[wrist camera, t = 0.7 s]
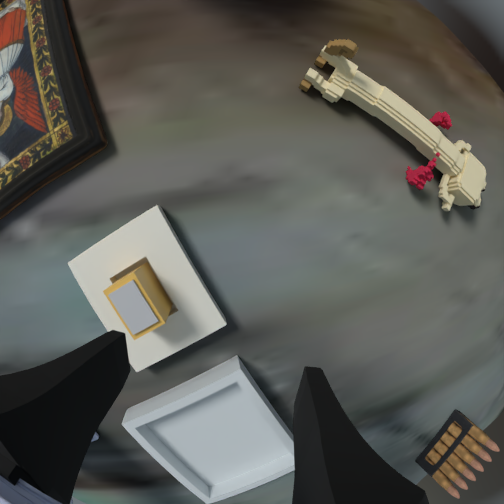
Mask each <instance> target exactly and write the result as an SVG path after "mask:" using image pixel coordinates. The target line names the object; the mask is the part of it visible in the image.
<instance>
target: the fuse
mask: <svg viewBox="0 0 504 504" xmlns="http://www.w3.org/2000/svg"><path fill="white" fill-rule="evenodd" d="M103 292H104V294H105V296H106V297H107V299H108V301H109V302H110V304H111V305H112V307H113V309H114V310H115V312H116V313H117V315H118V317H119V318H120V320H121V321H122V323H123V324H124V326H125V327H126V329H127V330H128V332H129V333H130V335H131V336H132V338H133V339H134V340H136V339H138V338H139V337H141V336H143V335H145V334H147V333H149V332H150V331H152V330H154V329H156V328H158V327H160V326H161V325H163V324H165V323H166V320H167V318H168V315H169V312H170V310H171V307H172V305H173V303H172V302H171V300H170V298H169V297H168V295H167V294H166V292H165V290H164V289H163V287H162V285H161V284H160V282H159V280H158V279H157V277H156V275H155V274H154V272H153V270H152V269H151V267H150V265H149V263H148V262H146V263H144V264H143V265H141V266H139V267H138V268H136V269H134V270H133V271H131V272H130V273H128V274H126V275H125V276H123V277H121V278H120V279H119V280H117V281H116V282H114V283H113V284H112V285H110V286H109V287H108V288H106V289H105V290H104V291H103Z"/></svg>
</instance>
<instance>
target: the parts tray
mask: <svg viewBox="0 0 504 504" xmlns="http://www.w3.org/2000/svg"><path fill="white" fill-rule="evenodd" d="M122 425H123V427H124V428H125V429H126V430H127V431H128V432H129V433H130V434H131V435H132V436H133V437H134V438H135V439H136V441H137V442H138V443H139V444H140V445H141V446H142V447H143V448H144V449H145V450H146V451H147V452H148V453H149V454H150V455H151V456H152V457H153V458H154V459H155V460H156V461H158V462H159V463H160V464H161V465H162V466H163V467H164V468H165V469H166V470H167V471H168V472H169V473H170V474H172V475H173V476H174V477H175V478H176V479H177V480H178V481H179V482H181V483H182V484H183V485H184V486H185V487H186V488H188V489H189V490H190V491H191V492H192V493H194V494H195V495H196V496H197V497H199V498H200V499H201V500H202V501H204V502H205V503H206V504H210V503H213V502H216V501H219V500H222V499H225V498H228V497H231V496H234V495H236V494H239V493H242V492H244V491H247V490H250V489H252V488H255V487H257V486H260V485H262V484H264V483H267V482H269V481H271V480H274V479H276V478H278V477H280V476H283V475H285V474H287V473H289V472H291V471H293V470H295V466H294V440H293V434H292V433H291V431H290V430H289V429H288V427H287V426H286V424H285V423H284V422H283V420H282V419H281V418H280V416H279V415H278V413H277V412H276V411H275V409H274V408H273V406H272V405H271V404H270V402H269V401H268V399H267V398H266V397H265V395H264V394H263V392H262V391H261V389H260V388H259V386H258V385H257V384H256V382H255V381H254V379H253V378H252V376H251V375H250V373H249V372H248V370H247V369H246V367H245V366H244V364H243V363H242V361H241V360H240V358H239V357H238V355H236V356H235V357H233V358H231V359H229V360H227V361H225V362H223V363H221V364H219V365H218V366H216V367H214V368H212V369H210V370H208V371H206V372H204V373H202V374H200V375H198V376H196V377H194V378H192V379H190V380H188V381H186V382H184V383H182V384H180V385H178V386H176V387H174V388H172V389H169V390H167V391H165V392H163V393H161V394H159V395H157V396H155V397H152V398H150V399H148V400H146V401H144V402H141V403H139V404H137V405H135V406H132V407H130V408H128V409H127V411H126V413H125V416H124V419H123V422H122Z"/></svg>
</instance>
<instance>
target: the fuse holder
mask: <svg viewBox="0 0 504 504" xmlns="http://www.w3.org/2000/svg"><path fill="white" fill-rule="evenodd" d="M146 262H148V263H149V265H150V267H151V269H152V270H153V272H154V274H155V275H156V277H157V279H158V280H159V282H160V284H161V285H162V287H163V289H164V290H165V292H166V294H167V295H168V297H169V298H170V300H171V302H172V303H173V305H172V307H171V310H170V312H169V315H168V318H167V320H166V323H165V324H163V325H161V326H160V327H158V328H156V329H154V330H152V331H150V332H149V333H147V334H145V335H143V336H141V337H139V338H138V339H136V340H134V339H133V338H132V336H131V335H130V333H129V332H128V330H127V329H126V327H125V326H124V324H123V323H122V321H121V320H120V318H119V317H118V315H117V313H116V312H115V310H114V309H113V307H112V305H111V304H110V302H109V301H108V299H107V297H106V296H105V294H104V292H103V291H104V290H105V289H106V288H108V287H109V286H110V285H112V284H113V283H114V282H116V281H117V280H119V279H120V278H121V277H123V276H125V275H126V274H128V273H130V272H131V271H133V270H134V269H136V268H138V267H139V266H141V265H143V264H144V263H146ZM68 265H69V267H70V269H71V271H72V273H73V274H74V276H75V278H76V280H77V282H78V283H79V285H80V287H81V289H82V290H83V292H84V294H85V295H86V297H87V299H88V301H89V302H90V304H91V305H92V307H93V309H94V310H95V312H96V314H97V315H98V317H99V318H100V320H101V321H102V323H103V325H104V326H105V328H106V329H107V331H108V332H109V331H111V330H115V331H119V332H123V333H125V335H126V343H127V350H128V357H129V362H130V364H131V365H132V367H133V368H134V369H135V371H136V372H138V371H140V370H142V369H144V368H146V367H148V366H150V365H152V364H154V363H156V362H158V361H160V360H162V359H164V358H166V357H168V356H170V355H172V354H174V353H175V352H177V351H179V350H181V349H183V348H185V347H187V346H189V345H191V344H192V343H194V342H196V341H198V340H200V339H202V338H204V337H206V336H207V335H209V334H211V333H213V332H215V331H217V330H218V329H220V328H222V327H224V326H226V325H227V323H226V318H225V316H224V314H223V313H222V311H221V310H220V308H219V306H218V305H217V303H216V301H215V300H214V298H213V296H212V295H211V293H210V291H209V290H208V288H207V286H206V285H205V283H204V281H203V280H202V278H201V276H200V275H199V273H198V271H197V270H196V268H195V266H194V264H193V263H192V261H191V259H190V258H189V256H188V254H187V252H186V251H185V249H184V247H183V245H182V244H181V242H180V240H179V238H178V237H177V235H176V233H175V231H174V230H173V228H172V226H171V224H170V222H169V221H168V219H167V217H166V215H165V213H164V212H163V210H162V208H161V206H158V205H156V206H155V207H153V208H151V209H150V210H148V211H147V212H145V213H143V214H142V215H140V216H138V217H137V218H135V219H134V220H132V221H130V222H129V223H127V224H126V225H124V226H122V227H121V228H119V229H118V230H116V231H115V232H113V233H111V234H110V235H108V236H107V237H105V238H104V239H102V240H101V241H99V242H98V243H96V244H95V245H93V246H92V247H90V248H89V249H87V250H86V251H84V252H83V253H81V254H80V255H79V256H77V257H76V258H74V259H73V260H71V261H70V262H69V263H68Z"/></svg>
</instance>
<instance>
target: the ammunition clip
mask: <svg viewBox="0 0 504 504" xmlns="http://www.w3.org/2000/svg"><path fill="white" fill-rule="evenodd" d="M458 425H459V426H460V427H461V428H462V429H461V428H460V427H459V426H458ZM451 434H452V435H453V436H454V437H455V438H456V439H455V438H454V437H453V436H452V435H451ZM471 436H472V437H473V438H475V439H476V440H477V441H478V442H480V443H482V444H484V445H485V446H487V447H488V448H490V449H491V450H493V451H497V452H499V451H500V450H499V448H498V446H497V445H496V443H495V442H494V441H492V440H491V439H490V438H489V437H488V436H487V434H486V433H485V432H484V431H482V430H481V429H480V428H478V427H477V426H476V425H475V424H474V423H473V422H471V421H470V420H469V419H468V418H467V417H466V416H465V415H464V414H462V413H461V412H460V411H458V410H454V411H453V413H452V414H451V416H450V417H449V418H448V420H447V421H446V422H445V424H444V425H443V427H442V428H441V429H440V430H439V432H438V433H437V434H436V436H435V437H434V438H433V439H432V441H431V442H430V443H429V444H428V446H427V447H426V448H425V449H424V450H423V452H422V453H421V454H420V455H419V456H418V458H417V459H416V462H417V463H418V464H419V465H420V466H421V467H422V468H423V469H424V470H425V471H426V472H427V473H428V474H429V475H430V476H431V477H433V478H434V479H435V480H436V481H437V483H438V484H439V485H440V486H441V487H443V488H444V489H445V490H446V491H448V492H449V493H450V494H451V495H452V496H454V497H456V498H460V496H459V493H458V491H457V490H456V488H455V487H454V486H453V484H452V483H451V482H450V480H449V479H451V480H452V481H454V482H455V483H456V484H457V485H458V486H459V487H461V488H463V489H465V490H467V489H468V487H467V484H466V483H465V481H464V480H463V479H462V478H461V476H460V475H459V474H458V472H457V471H456V470H458V471H460V472H461V473H462V474H463V475H465V476H466V477H467V478H468V479H471V480H473V481H476V478H475V476H474V474H473V473H472V471H471V470H470V469H469V468H468V467H467V466H466V465H465V463H464V462H463V461H465V462H467V463H468V464H470V465H471V466H472V467H473V468H475V469H477V470H479V471H482V472H483V471H484V469H483V467H482V465H481V464H480V463H479V461H478V460H477V459H476V458H475V457H474V456H473V455H472V453H471V452H474V453H475V454H477V455H478V456H479V457H481V458H482V459H484V460H486V461H488V462H491V461H492V460H491V458H490V456H489V454H488V453H487V452H486V451H485V450H484V449H483V448H482V447H481V446H480V445H479V443H478V442H477V441H475V440H474V439H473V438H472V437H471ZM463 445H464V446H466V447H467V448H468V449H469V450H470V451H471V452H470V451H469V450H468V449H466V448H465V447H464V446H463ZM456 454H457V455H458V456H459V457H460V458H461V459H462V460H461V459H460V458H459V457H458V456H457V455H456ZM449 463H450V464H451V465H452V466H453V467H454V468H455V469H456V470H455V469H454V468H453V467H452V466H451V465H450V464H449Z"/></svg>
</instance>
